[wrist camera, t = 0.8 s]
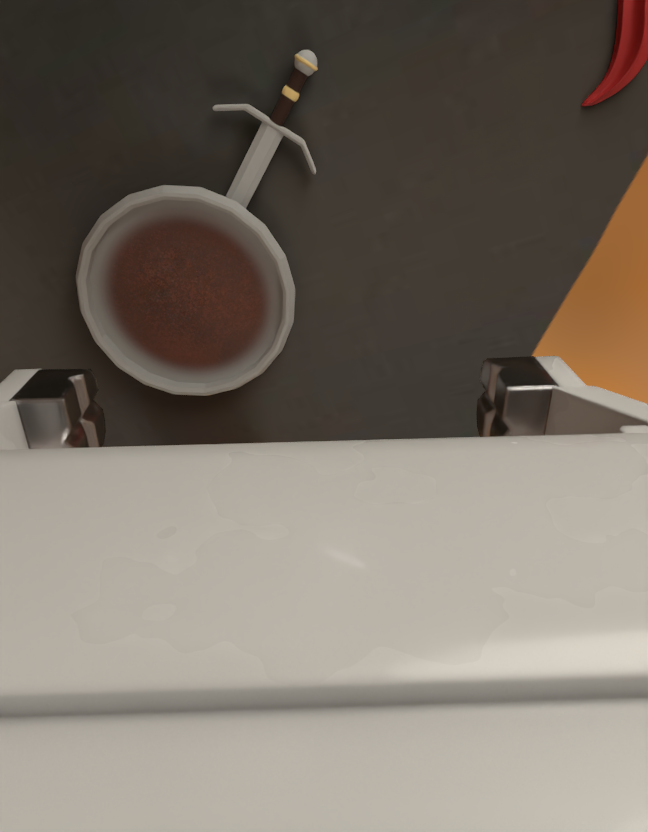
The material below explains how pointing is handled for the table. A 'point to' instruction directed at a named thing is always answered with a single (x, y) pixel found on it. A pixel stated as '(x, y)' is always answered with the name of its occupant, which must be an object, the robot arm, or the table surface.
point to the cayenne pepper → (625, 50)
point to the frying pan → (194, 274)
